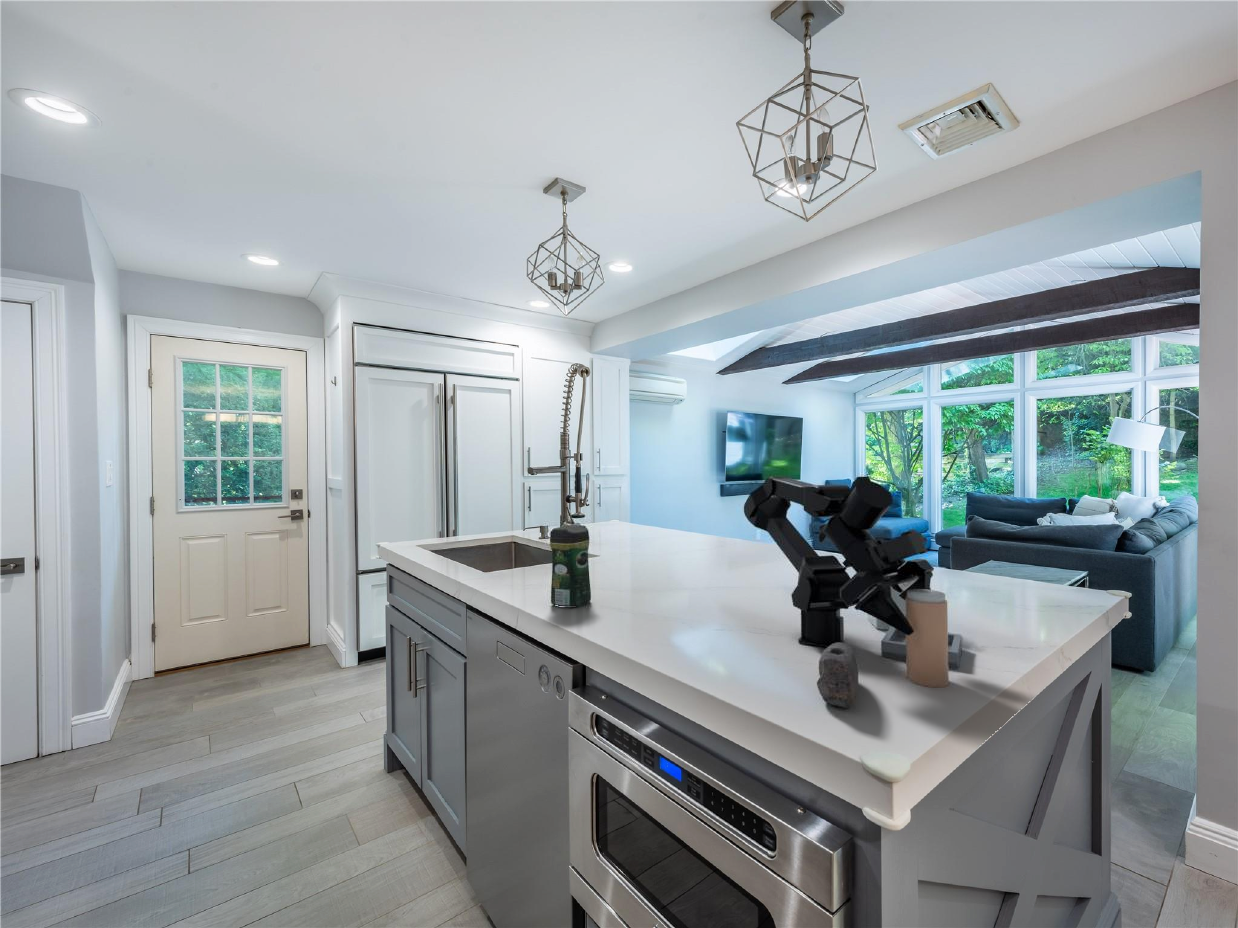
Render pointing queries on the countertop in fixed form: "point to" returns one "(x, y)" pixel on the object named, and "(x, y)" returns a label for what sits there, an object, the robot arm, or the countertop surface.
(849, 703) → the perforated stone tool
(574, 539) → the coffee jar
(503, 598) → the countertop surface
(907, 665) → the shaker
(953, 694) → the countertop surface
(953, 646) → the tray
